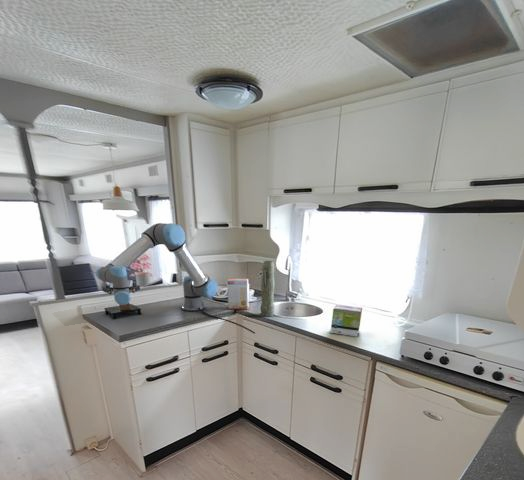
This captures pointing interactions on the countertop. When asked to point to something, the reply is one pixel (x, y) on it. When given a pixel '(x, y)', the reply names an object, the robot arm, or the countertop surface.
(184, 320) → the countertop surface
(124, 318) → the countertop surface
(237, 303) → the cracker box
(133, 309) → the black footed platform
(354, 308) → the tea box
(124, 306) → the packet
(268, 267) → the thermos
